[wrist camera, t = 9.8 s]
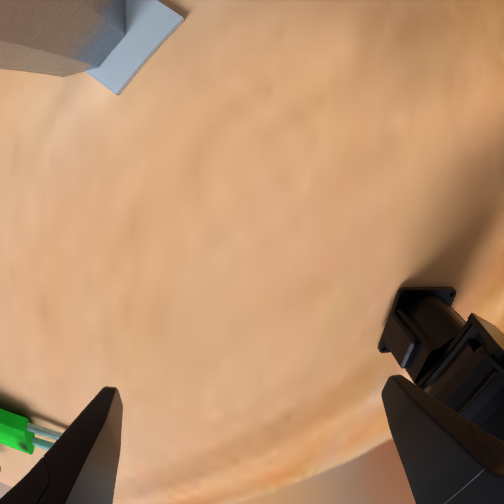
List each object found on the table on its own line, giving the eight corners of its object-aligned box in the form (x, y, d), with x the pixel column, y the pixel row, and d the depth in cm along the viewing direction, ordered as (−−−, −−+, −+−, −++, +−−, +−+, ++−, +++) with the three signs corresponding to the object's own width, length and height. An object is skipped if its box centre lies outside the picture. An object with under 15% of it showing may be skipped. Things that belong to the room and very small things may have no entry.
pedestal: (184, 20, 15) (177, 2, 12) (119, 95, 17) (99, 92, 13) (72, -45, 11) (52, -63, 8) (17, 21, 13) (-10, 13, 10)
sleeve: (146, 13, 14) (55, -94, 3) (81, 90, 16) (-73, 88, 4) (83, -25, 12) (-23, -107, 1) (26, 48, 14) (-117, 30, 2)
